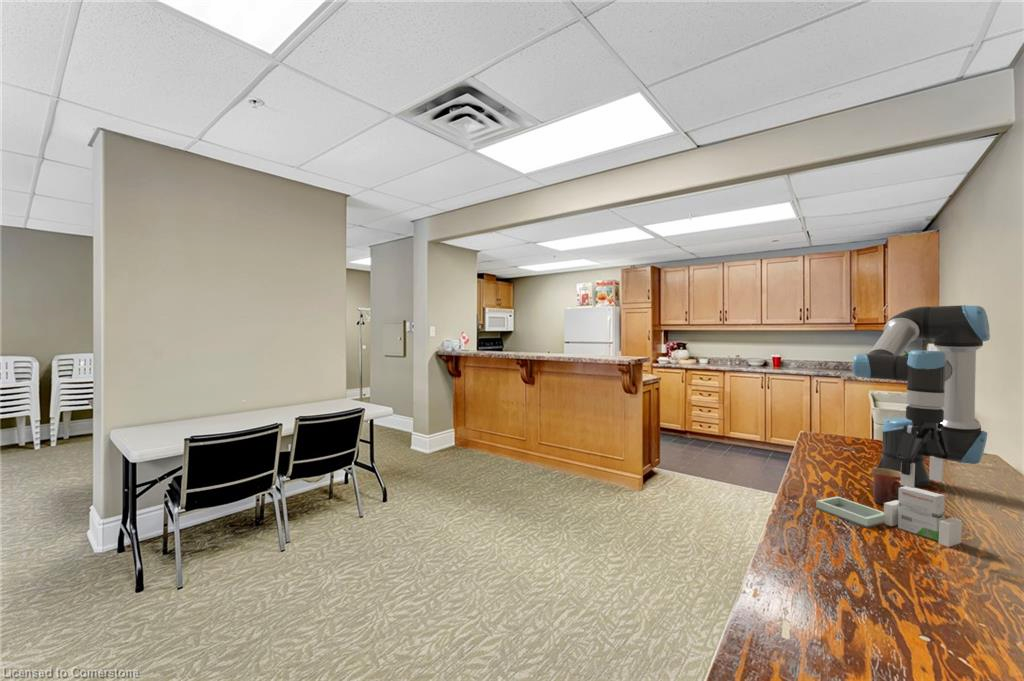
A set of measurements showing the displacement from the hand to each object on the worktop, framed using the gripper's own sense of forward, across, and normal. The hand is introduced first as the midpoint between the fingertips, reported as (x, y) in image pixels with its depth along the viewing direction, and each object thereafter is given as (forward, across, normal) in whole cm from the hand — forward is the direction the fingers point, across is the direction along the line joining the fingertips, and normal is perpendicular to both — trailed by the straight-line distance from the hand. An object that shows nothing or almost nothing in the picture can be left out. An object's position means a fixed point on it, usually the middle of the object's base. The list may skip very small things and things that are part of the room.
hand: (921, 483), depth 119 cm
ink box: (+14, 0, 0) cm, 14 cm away
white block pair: (+14, 0, 0) cm, 14 cm away
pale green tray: (+14, +6, -14) cm, 21 cm away
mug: (+14, -14, -14) cm, 24 cm away
